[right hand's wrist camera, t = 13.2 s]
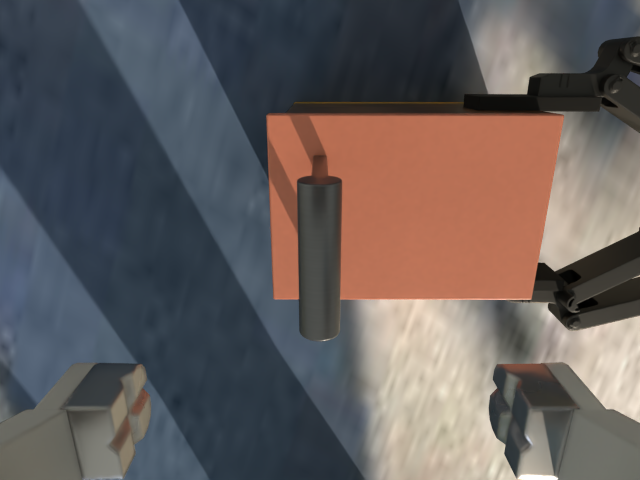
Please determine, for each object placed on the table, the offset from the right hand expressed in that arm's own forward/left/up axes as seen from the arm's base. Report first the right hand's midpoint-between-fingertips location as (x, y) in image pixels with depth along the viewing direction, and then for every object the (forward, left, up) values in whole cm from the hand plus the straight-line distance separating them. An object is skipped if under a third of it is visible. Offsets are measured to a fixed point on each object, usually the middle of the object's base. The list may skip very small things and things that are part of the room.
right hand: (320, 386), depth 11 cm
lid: (+2, +4, -15) cm, 16 cm away
